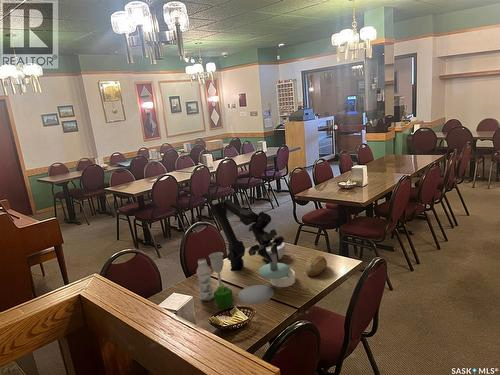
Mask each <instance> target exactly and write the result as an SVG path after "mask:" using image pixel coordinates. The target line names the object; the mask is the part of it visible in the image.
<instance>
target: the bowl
mask: <svg viewBox="0 0 500 375" xmlns="http://www.w3.org/2000/svg"><path fill="white" fill-rule="evenodd" d="M269 280H270V284H272V286H274V287H277V288H287V287H290V286H291V287H292V285H293V284H295V283H296V274H295V271H294V270H293V269H292V268H290V272H289V274H288V275H286V276H284V277H282V278H277V279H269Z"/></svg>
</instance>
